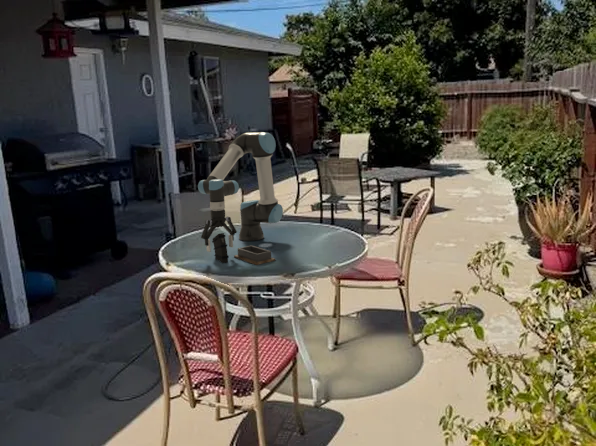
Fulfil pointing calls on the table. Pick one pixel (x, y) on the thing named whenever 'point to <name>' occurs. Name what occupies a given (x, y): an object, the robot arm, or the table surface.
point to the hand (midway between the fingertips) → (220, 249)
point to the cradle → (254, 253)
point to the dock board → (254, 261)
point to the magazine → (220, 248)
